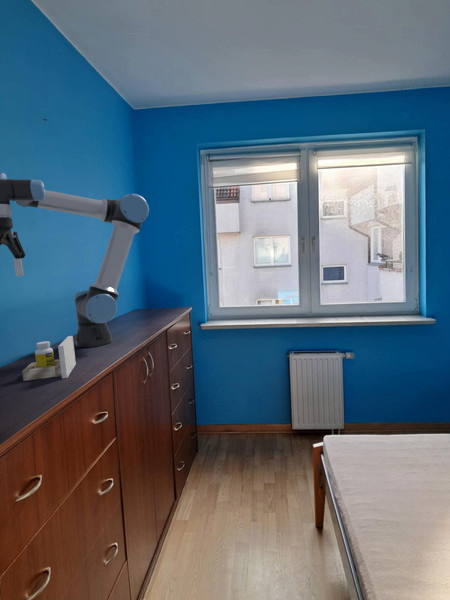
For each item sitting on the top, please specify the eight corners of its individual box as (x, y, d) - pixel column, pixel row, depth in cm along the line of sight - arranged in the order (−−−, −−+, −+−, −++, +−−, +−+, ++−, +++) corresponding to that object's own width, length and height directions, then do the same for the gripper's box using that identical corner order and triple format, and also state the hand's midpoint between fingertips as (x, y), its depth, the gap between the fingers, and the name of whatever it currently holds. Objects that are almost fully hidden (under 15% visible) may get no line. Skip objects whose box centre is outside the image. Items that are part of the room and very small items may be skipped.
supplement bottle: (49, 374, 135) (45, 344, 134) (33, 374, 136) (29, 344, 135) (58, 369, 140) (55, 340, 139) (44, 370, 142) (40, 341, 141)
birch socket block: (23, 380, 132) (22, 371, 132) (32, 371, 143) (31, 362, 143) (62, 375, 134) (61, 366, 134) (68, 367, 145) (67, 358, 145)
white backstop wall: (62, 378, 131) (58, 346, 130) (71, 364, 148) (67, 336, 147) (67, 377, 131) (63, 345, 130) (75, 364, 149) (72, 335, 148)
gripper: (12, 220, 165) (20, 275, 167) (-36, 216, 140) (-27, 280, 143) (30, 219, 164) (37, 274, 166) (-16, 213, 139) (-7, 278, 142)
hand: (8, 277), depth 154 cm, fingers open, 13 cm apart
